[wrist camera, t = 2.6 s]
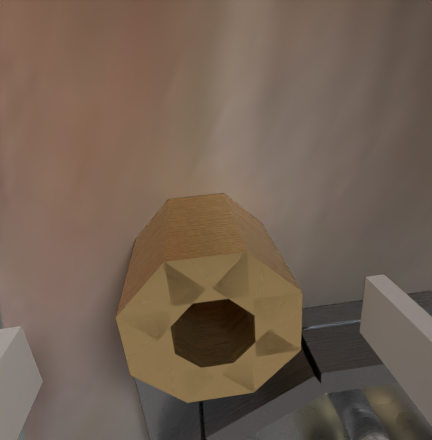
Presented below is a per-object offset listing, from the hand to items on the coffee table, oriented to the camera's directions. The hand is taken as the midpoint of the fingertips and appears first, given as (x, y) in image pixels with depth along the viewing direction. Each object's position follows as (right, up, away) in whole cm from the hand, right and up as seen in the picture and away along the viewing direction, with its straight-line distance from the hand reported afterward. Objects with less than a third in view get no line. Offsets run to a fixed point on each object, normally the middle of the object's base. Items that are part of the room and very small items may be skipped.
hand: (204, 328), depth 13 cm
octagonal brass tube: (0, +2, +5) cm, 5 cm away
